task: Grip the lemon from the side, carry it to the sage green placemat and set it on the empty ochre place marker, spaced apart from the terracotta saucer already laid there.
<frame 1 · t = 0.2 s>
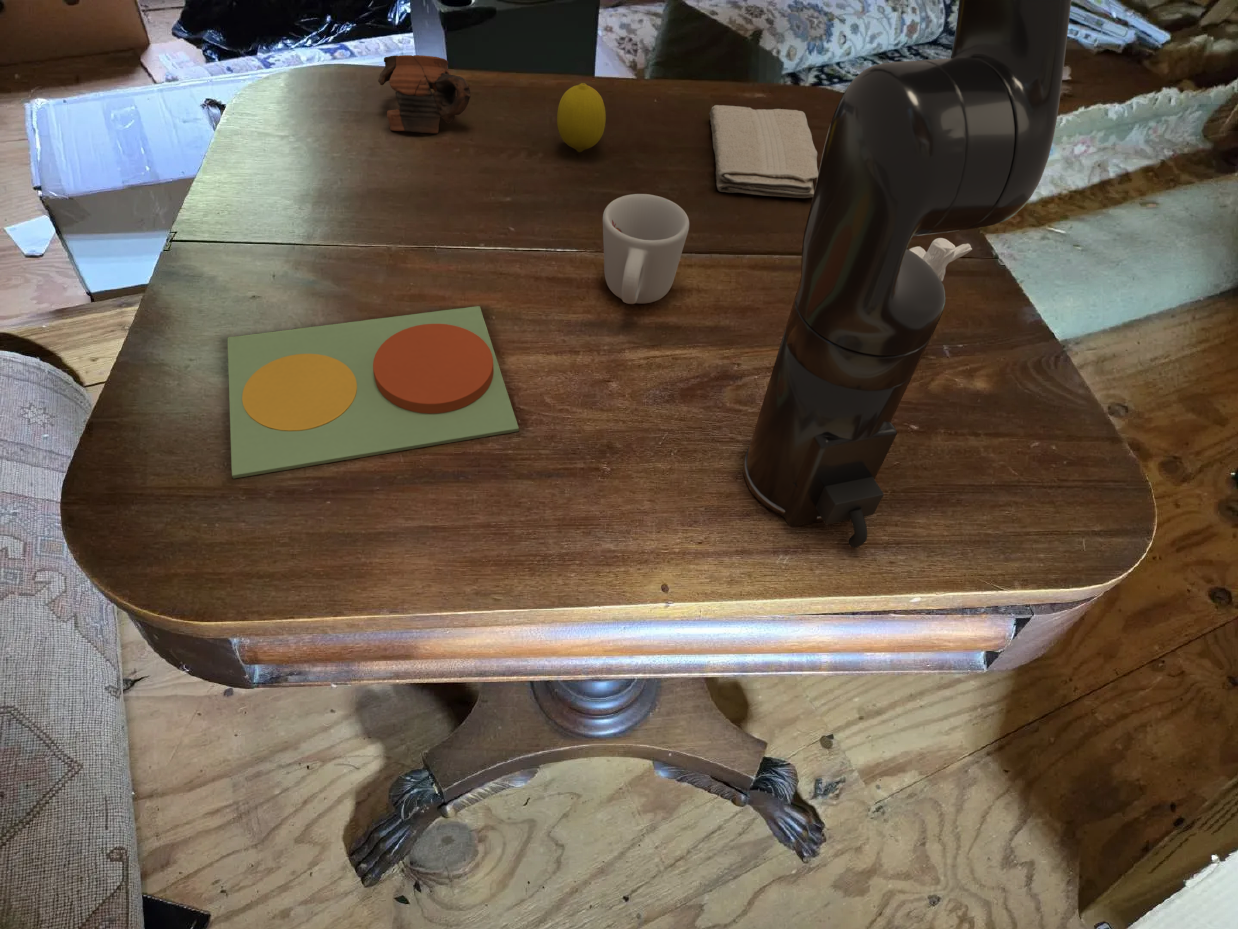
koala figurine: (881, 348, 81), on the table
cup: (634, 297, 83), on the table
lemon: (579, 152, 100), on the table
pottery mug: (427, 119, 102), on the table
washcloth: (758, 160, 102), on the table
placemat: (369, 384, 72), on the table
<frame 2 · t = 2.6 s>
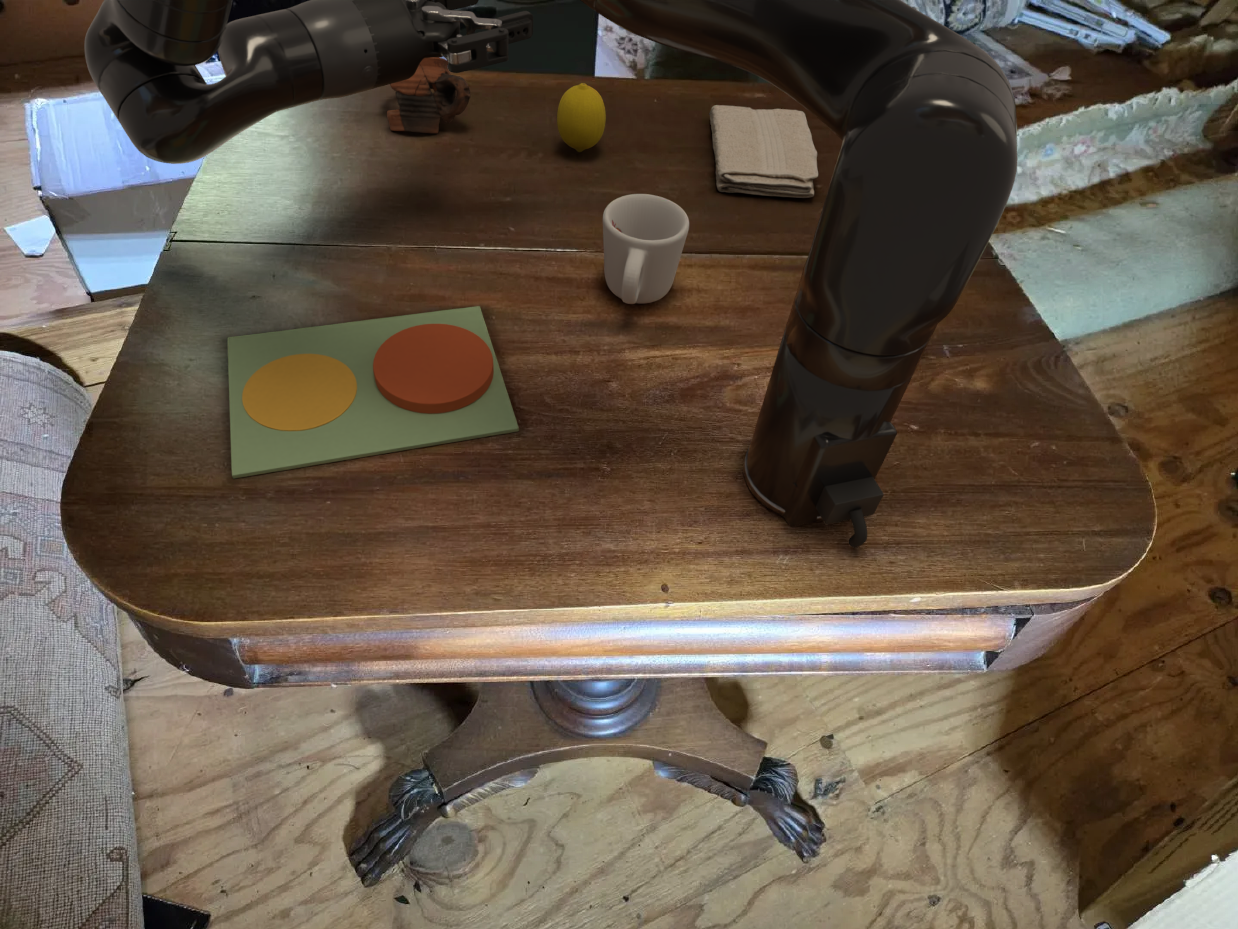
hand: (502, 6, 81), 18 cm above the table, tool horizontal, fingers open, 8 cm apart
nothing on the table moved.
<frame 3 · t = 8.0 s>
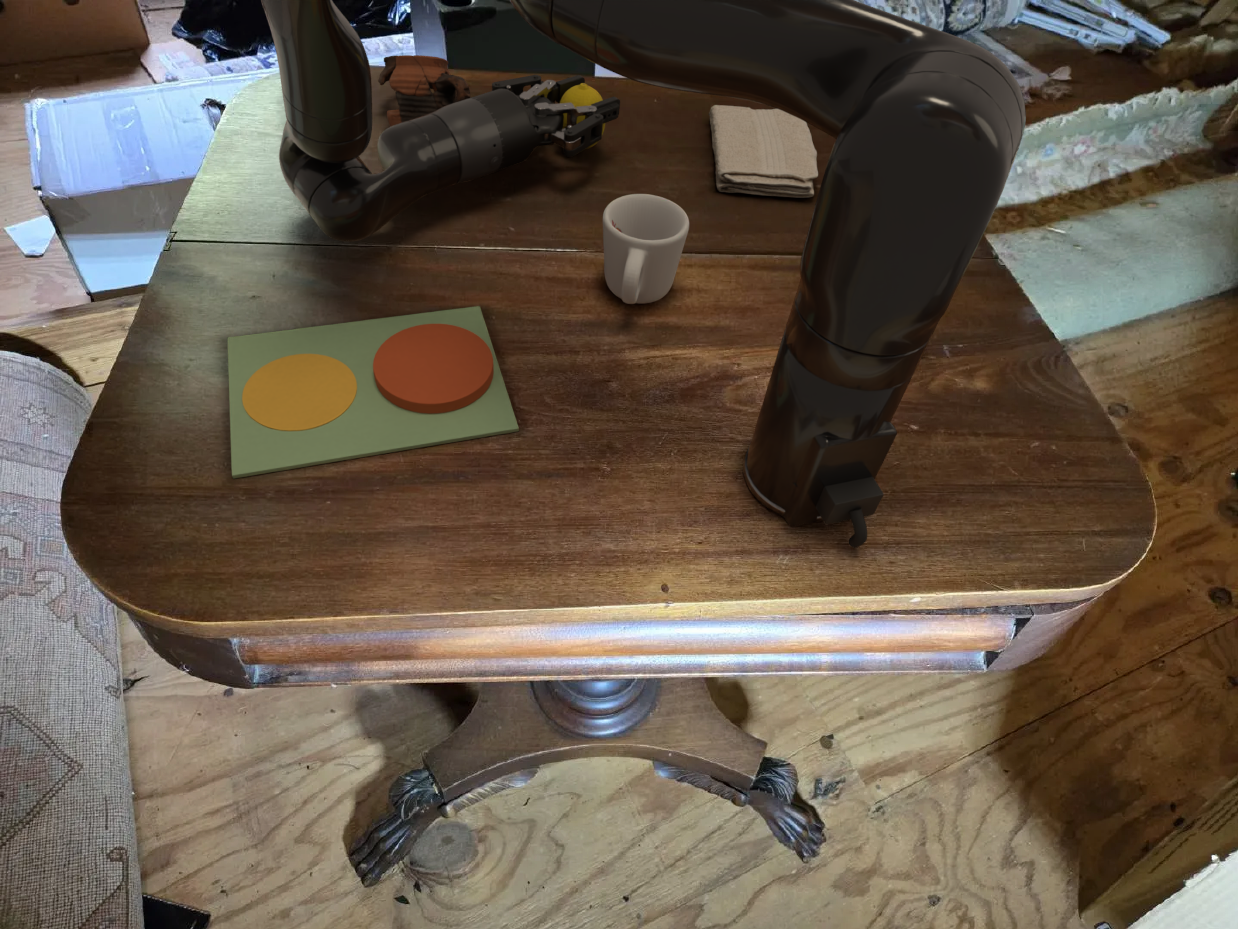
hand: (599, 95, 96), 6 cm above the table, tool horizontal, fingers closed on lemon, 5 cm apart
lemon: (579, 152, 100), on the table, touching gripper
everything else where it was.
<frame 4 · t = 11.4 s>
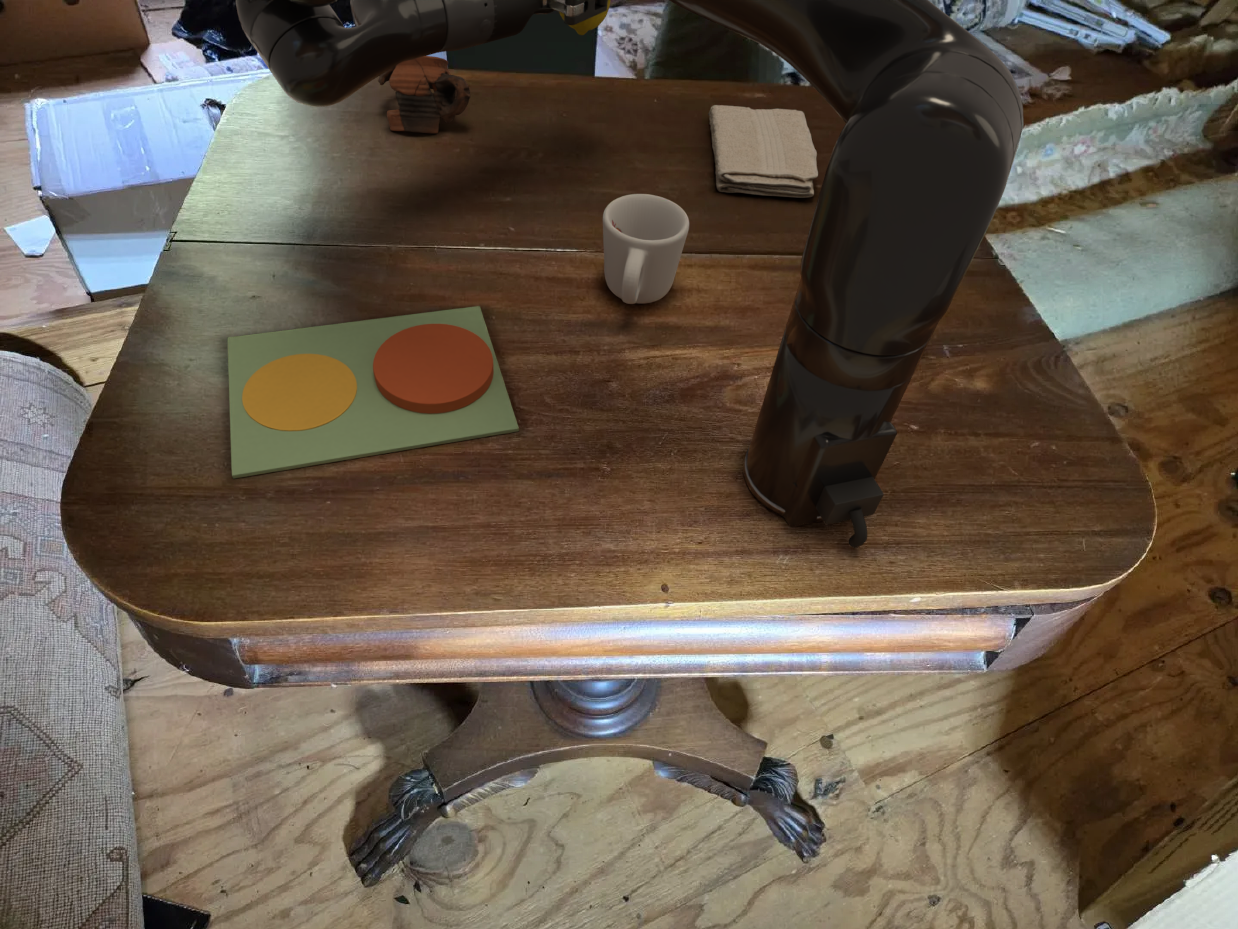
lemon: (581, 36, 89), point 13 cm above the table, touching gripper
everything else where it was.
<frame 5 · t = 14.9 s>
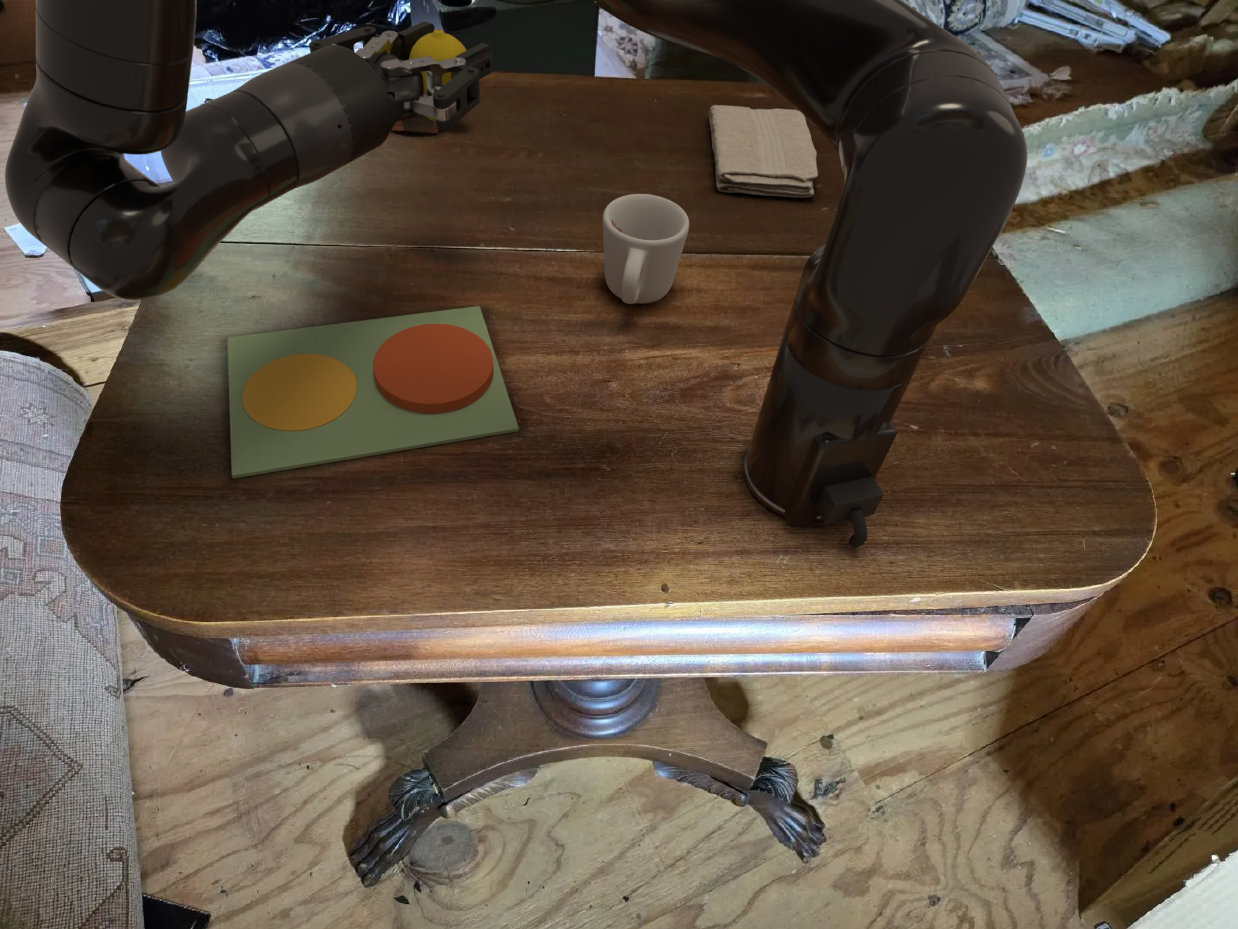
hand: (459, 45, 71), 20 cm above the table, tool horizontal, fingers closed on lemon, 5 cm apart
lemon: (444, 127, 74), point 13 cm above the table, touching gripper
everything else where it was.
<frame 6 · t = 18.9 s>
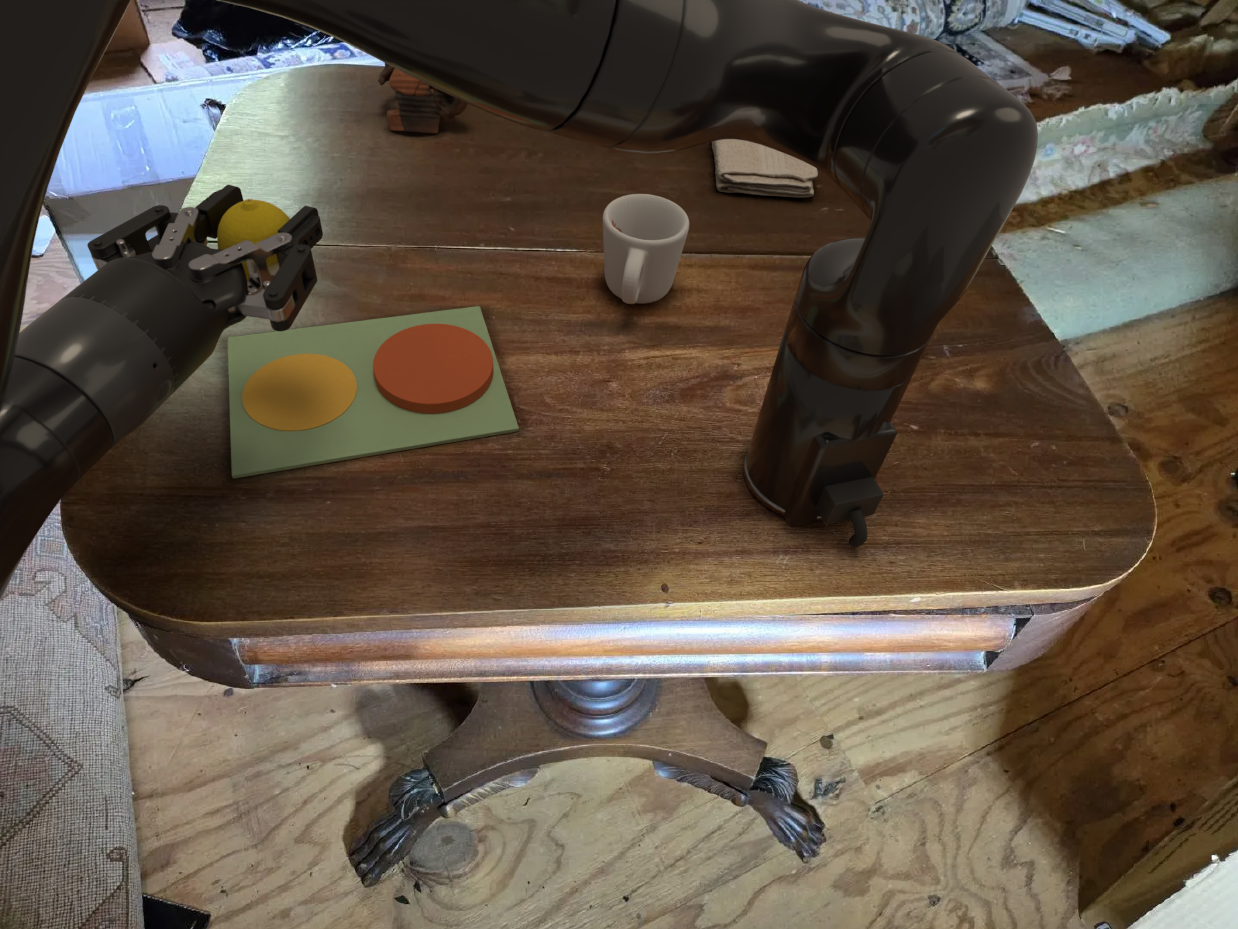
hand: (275, 207, 60), 16 cm above the table, tool horizontal, fingers closed on lemon, 5 cm apart
lemon: (274, 299, 63), point 10 cm above the table, touching gripper
everything else where it was.
when the fingers open (7 cm above the table, at t = 22.0 s): lemon stays where it is, resting on placemat.
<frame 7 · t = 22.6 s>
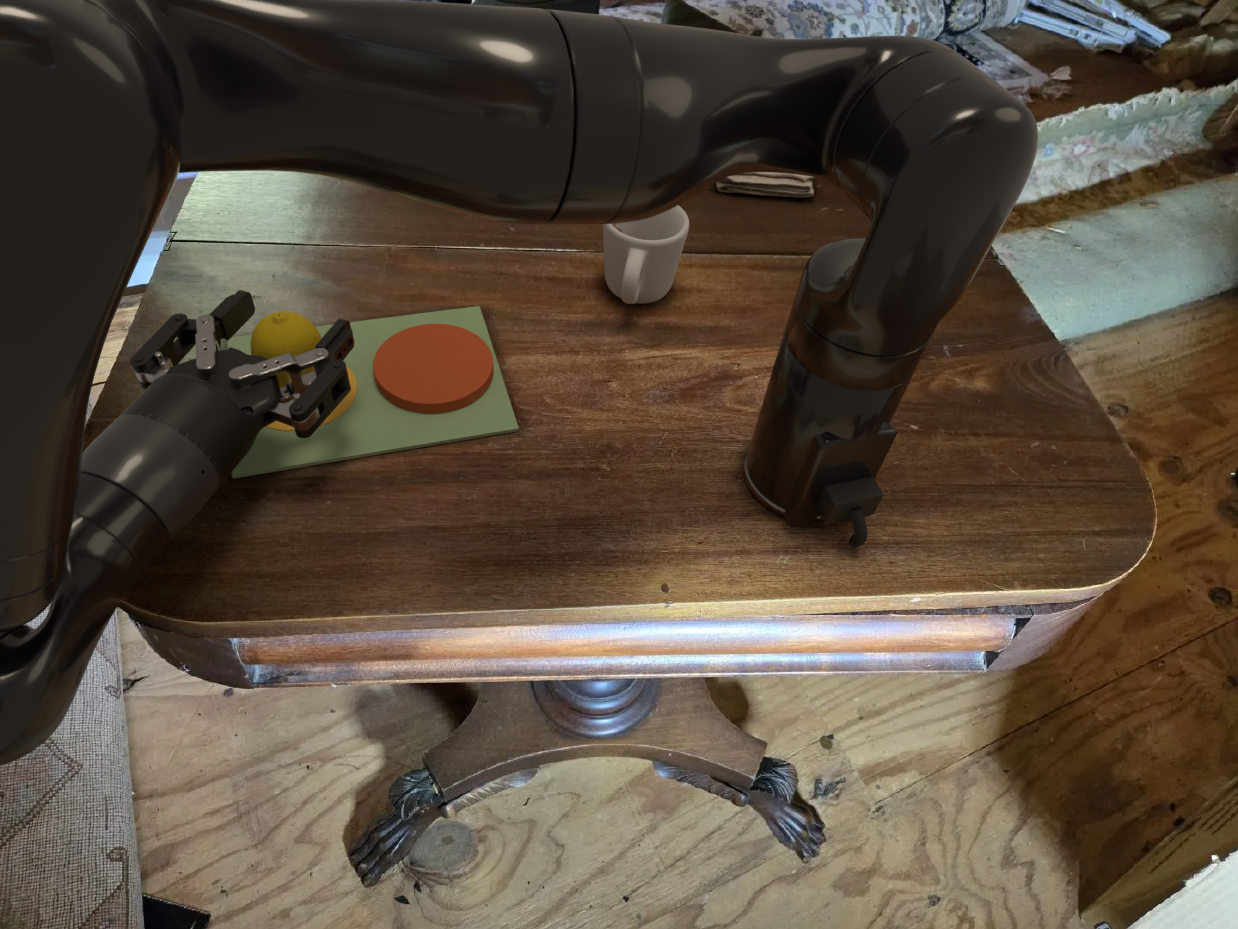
hand: (297, 313, 66), 7 cm above the table, tool horizontal, fingers open, 8 cm apart
lemon: (299, 392, 70), resting on placemat
everything else where it was.
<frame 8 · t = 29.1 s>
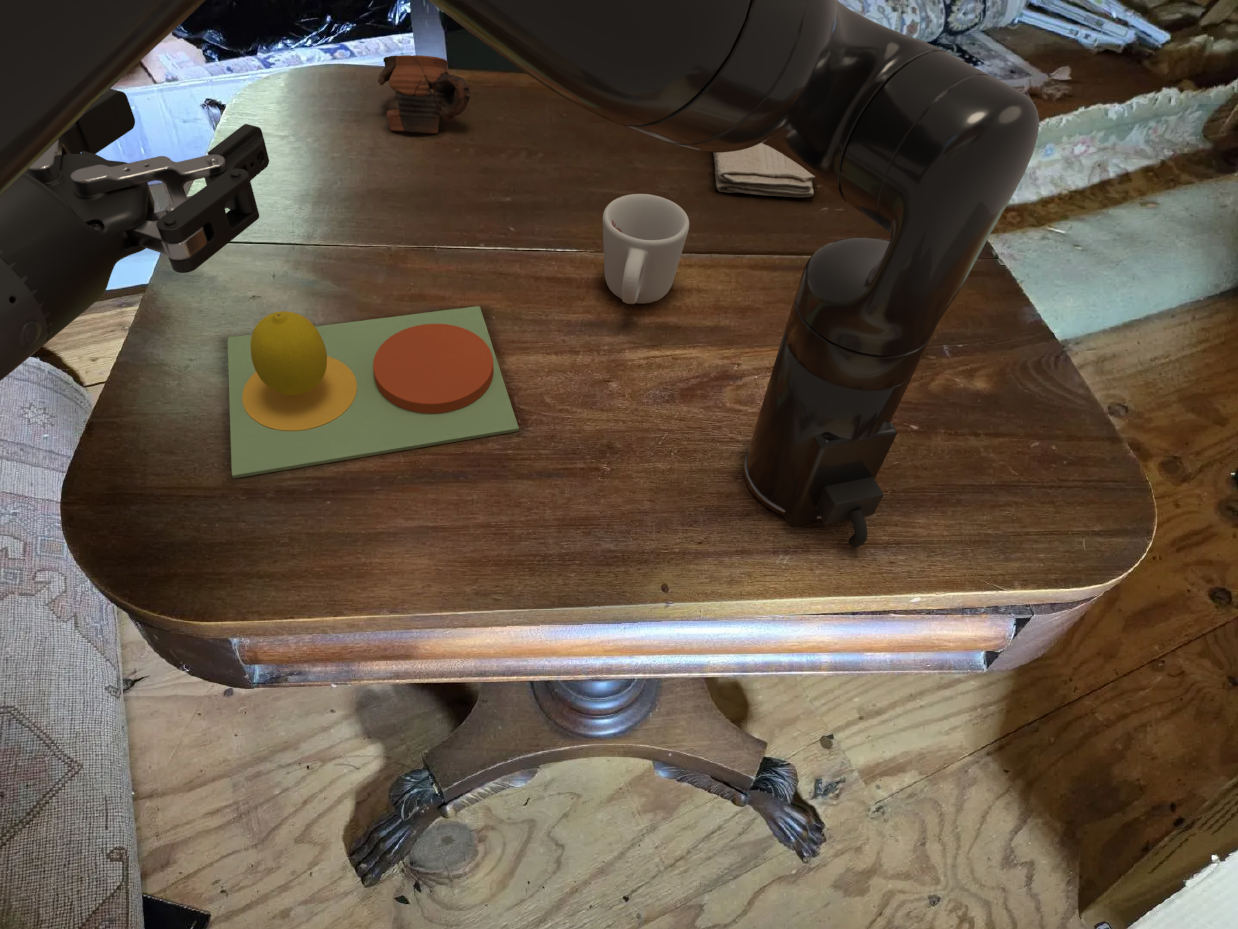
hand: (191, 123, 48), 26 cm above the table, tool horizontal, fingers open, 8 cm apart
nothing on the table moved.
at the end: lemon inside the target area on the placemat (0.1 cm from its centre), point 0.3 cm above the placemat's base; the gripper is holding nothing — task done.
